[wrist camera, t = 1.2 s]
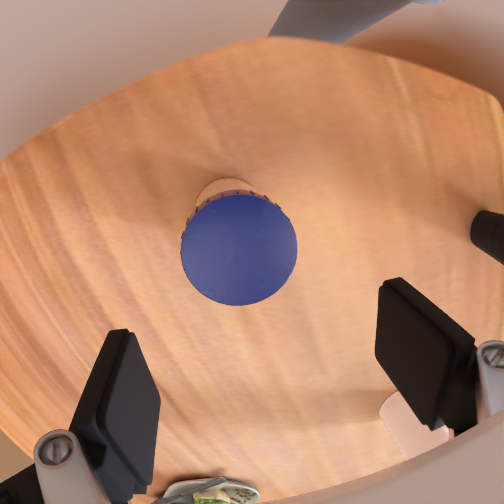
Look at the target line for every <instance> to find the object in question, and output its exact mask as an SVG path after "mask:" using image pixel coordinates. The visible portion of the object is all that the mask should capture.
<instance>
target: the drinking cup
mask: <svg viewBox="0 0 504 504" xmlns="http://www.w3.org/2000/svg"><path fill="white" fill-rule="evenodd" d="M471 240H472V242H473V244H474V245H475V246H476V247H478V248H479V249H481V250H482V251H484V252H485V253H487V254H488V255H490V256H491V257H493V258H494V259H496V260H497V261H498V262H500V263H501V264H503V265H504V215H503V214H499V213H494V212H490V211H481V212H480V213H478V214H477V216H476V217H475V218H474V220H473V223H472V226H471Z"/></svg>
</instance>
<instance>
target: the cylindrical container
mask: <svg viewBox="0 0 504 504" xmlns="http://www.w3.org/2000/svg"><path fill="white" fill-rule="evenodd" d="M379 416H380V417H381V419H382V421H383V423H384V424H385V426H386V428H387V430H388V431H389V433H390V435H391V437H392V438H393V440H394V442H395V444H396V445H397V447H398V449H399V451H400V452H401V454H402V456H403V458H404V460H405V461H407V460H409V459H411V458H413V457H416V456H418V455H420V454H422V453H424V452H427V451H429V450H431V449H433V448H435V447H437V446H439V445H441V444H443V443H445V442H447V441H449V431H448V430H447V428H446V427H445V426H443V427H441V428H438V429H436V430H434V431H432V432H431V431H430V429H429V428H428V426H427V425H422V424H421V423H420V421H419V420H418V418H417V417H416V415H415V414H414V412H413V411H412V410H411V408H410V407H409V405H408V404H407V402H406V401H405V399H404V398H403V396H402V395H401V394H400V392H399V391H397V392H395V393H394V394H392V395H391V396H390V397H389V398H387V399H386V401H385V402H384V403H383V404H382V406H381V408H380V410H379Z"/></svg>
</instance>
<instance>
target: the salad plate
mask: <svg viewBox="0 0 504 504" xmlns="http://www.w3.org/2000/svg"><path fill="white" fill-rule="evenodd" d="M259 498H260V495H259V492H258V491H257V490H256V489H255V488H254V487H251V486H249V485H246V484H245V483H243V482H240V481H235V480H227V478H226V477H223V476H218V477H214V478H204V479H196V480H187V481H180V482H175V483H174V484H172V485H171V486H170V487H169V488H168V489H167V490H166V492H165V494H164V496H163V497H161V498H160V499H158V500H156V501H154V502H152V503H151V504H254V503H255V502H256V501H257V500H258V499H259Z"/></svg>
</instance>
